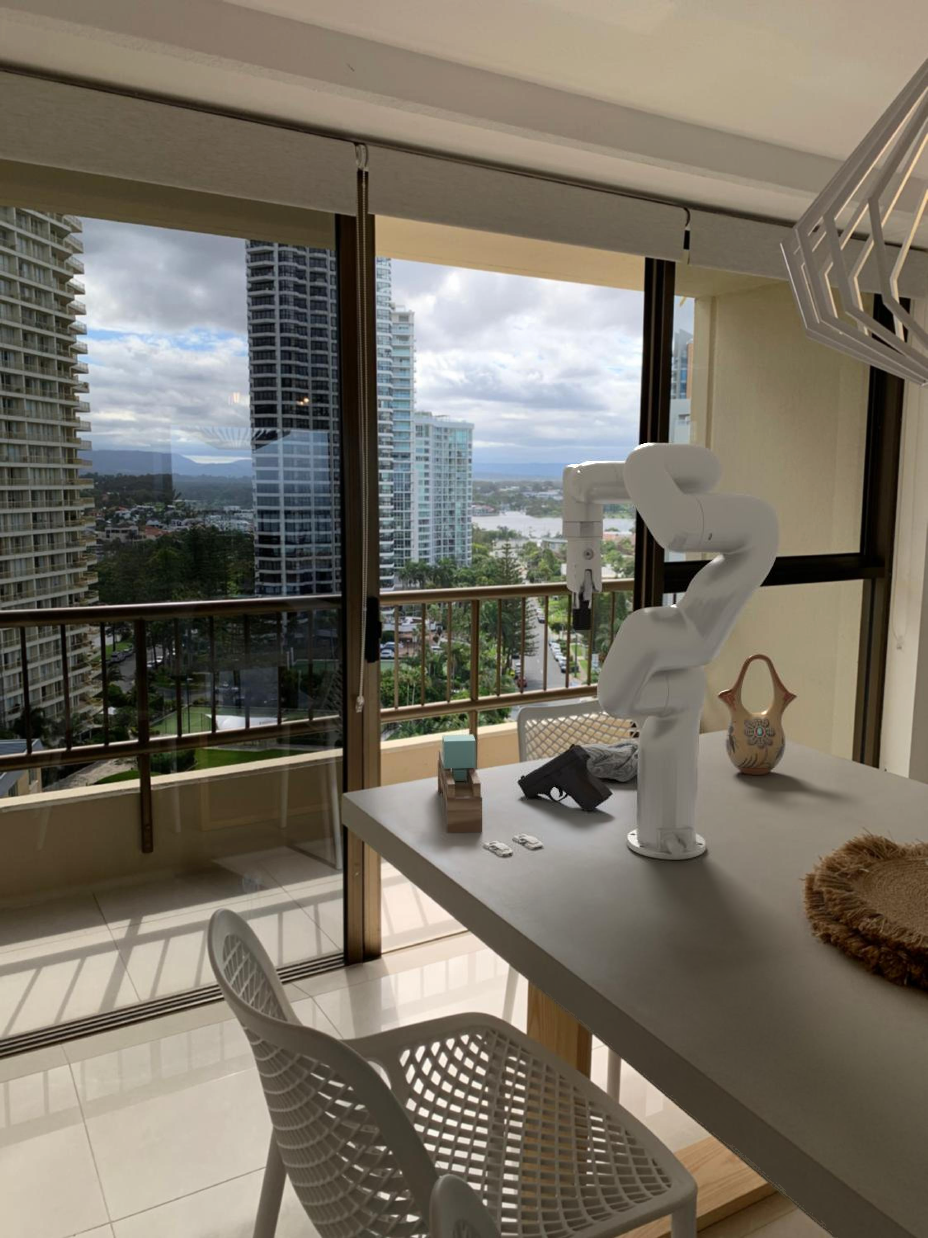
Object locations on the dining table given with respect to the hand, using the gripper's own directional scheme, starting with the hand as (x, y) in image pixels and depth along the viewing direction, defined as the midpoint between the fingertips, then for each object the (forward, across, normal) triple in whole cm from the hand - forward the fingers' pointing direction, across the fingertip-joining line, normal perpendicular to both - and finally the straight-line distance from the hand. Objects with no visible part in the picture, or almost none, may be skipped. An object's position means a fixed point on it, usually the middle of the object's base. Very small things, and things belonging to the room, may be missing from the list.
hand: (581, 629), depth 173 cm
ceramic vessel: (+32, +10, -39) cm, 52 cm away
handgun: (+32, -5, +4) cm, 33 cm away
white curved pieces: (+33, -25, +17) cm, 45 cm away
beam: (+32, -6, +24) cm, 41 cm away
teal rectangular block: (+26, -7, +24) cm, 36 cm away
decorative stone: (+32, +12, -9) cm, 36 cm away
